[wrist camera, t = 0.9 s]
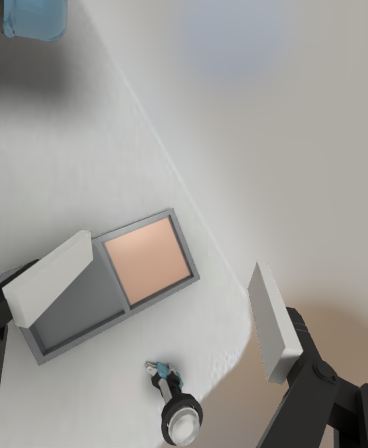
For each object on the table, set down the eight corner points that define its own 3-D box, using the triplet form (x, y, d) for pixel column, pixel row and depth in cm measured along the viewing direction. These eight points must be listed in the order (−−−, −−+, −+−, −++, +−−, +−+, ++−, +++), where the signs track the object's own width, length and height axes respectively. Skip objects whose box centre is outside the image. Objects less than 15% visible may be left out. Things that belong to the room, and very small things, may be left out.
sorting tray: (2, 273, 26) (-6, 277, 24) (169, 209, 34) (173, 208, 32) (44, 356, 28) (39, 365, 26) (195, 276, 35) (200, 279, 33)
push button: (135, 377, 32) (145, 441, 22) (156, 346, 33) (173, 394, 23) (167, 394, 33) (189, 460, 24) (186, 364, 34) (214, 416, 25)
